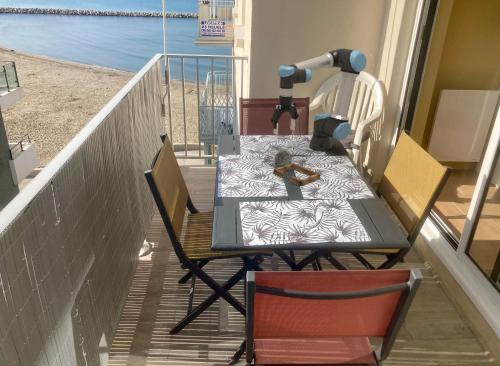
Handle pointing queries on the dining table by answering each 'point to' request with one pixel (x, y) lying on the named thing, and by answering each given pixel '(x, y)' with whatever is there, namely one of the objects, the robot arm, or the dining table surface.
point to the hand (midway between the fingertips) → (284, 131)
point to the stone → (283, 158)
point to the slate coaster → (274, 165)
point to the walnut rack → (312, 174)
